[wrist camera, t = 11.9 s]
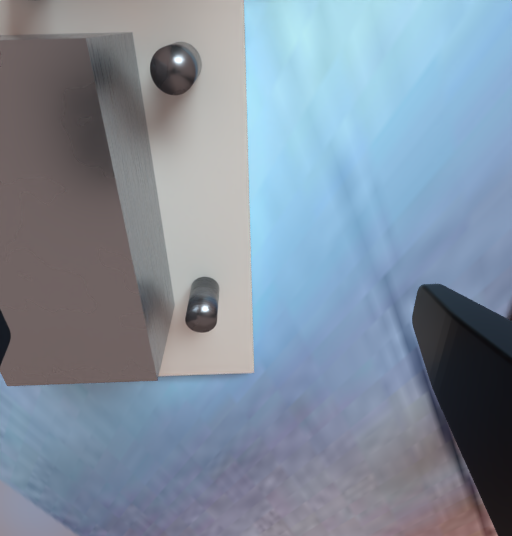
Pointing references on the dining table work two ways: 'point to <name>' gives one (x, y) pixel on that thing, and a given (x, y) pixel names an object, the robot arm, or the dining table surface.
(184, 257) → the white peg board
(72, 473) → the dining table surface
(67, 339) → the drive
